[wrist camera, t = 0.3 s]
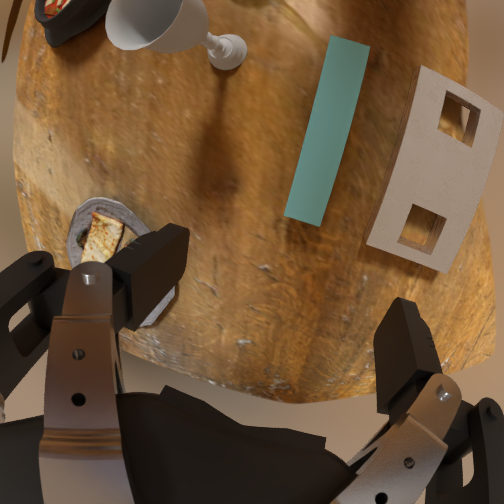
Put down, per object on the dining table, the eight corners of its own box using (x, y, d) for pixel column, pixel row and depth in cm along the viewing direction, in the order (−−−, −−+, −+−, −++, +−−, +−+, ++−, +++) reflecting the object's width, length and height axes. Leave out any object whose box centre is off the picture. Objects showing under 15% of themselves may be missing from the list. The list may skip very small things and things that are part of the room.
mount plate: (413, 69, 24) (421, 64, 21) (492, 112, 22) (504, 113, 20) (363, 234, 34) (365, 244, 31) (439, 263, 33) (446, 274, 30)
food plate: (141, 338, 54) (132, 349, 51) (65, 263, 52) (54, 270, 49) (202, 263, 43) (192, 274, 40) (100, 169, 41) (85, 173, 38)
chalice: (260, 70, 29) (192, 26, 13) (207, 84, 31) (110, 65, 15) (247, 20, 26) (177, -46, 10) (197, 36, 28) (102, -5, 12)
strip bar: (330, 48, 26) (330, 34, 21) (364, 58, 25) (370, 46, 20) (290, 202, 35) (283, 215, 30) (321, 212, 34) (319, 226, 30)
